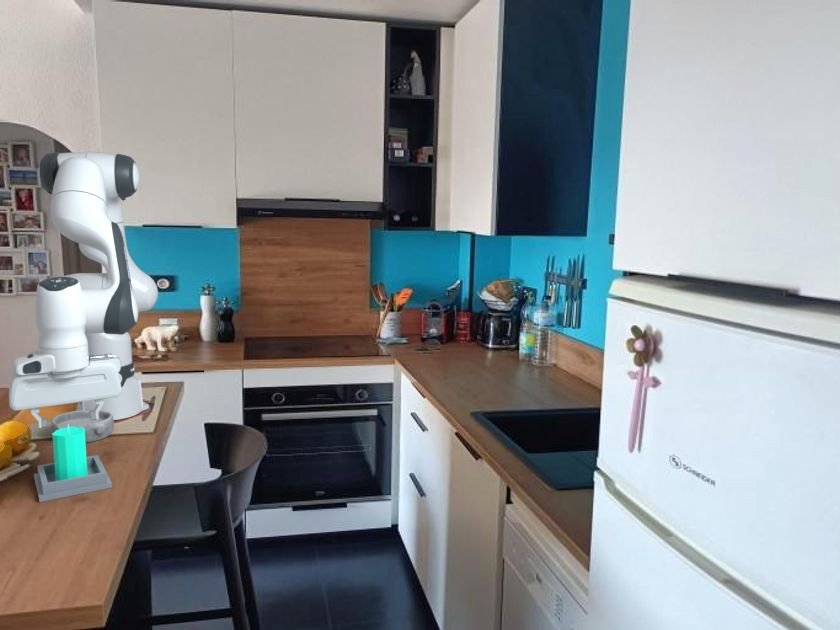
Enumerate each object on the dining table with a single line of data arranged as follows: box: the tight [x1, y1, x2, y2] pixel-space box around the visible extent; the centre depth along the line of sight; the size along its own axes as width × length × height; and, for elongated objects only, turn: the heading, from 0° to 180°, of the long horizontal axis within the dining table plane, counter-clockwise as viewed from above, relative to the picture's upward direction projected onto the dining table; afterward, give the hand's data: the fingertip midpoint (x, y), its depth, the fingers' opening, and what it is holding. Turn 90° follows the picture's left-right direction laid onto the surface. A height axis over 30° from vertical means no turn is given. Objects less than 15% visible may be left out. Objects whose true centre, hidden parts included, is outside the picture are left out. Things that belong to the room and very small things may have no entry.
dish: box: [51, 410, 115, 443], centre depth 163 cm, size 14×14×5 cm
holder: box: [33, 454, 113, 503], centre depth 135 cm, size 13×13×3 cm
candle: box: [51, 425, 87, 481], centre depth 134 cm, size 6×6×12 cm
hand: (69, 423), depth 134 cm, fingers open, 8 cm apart
